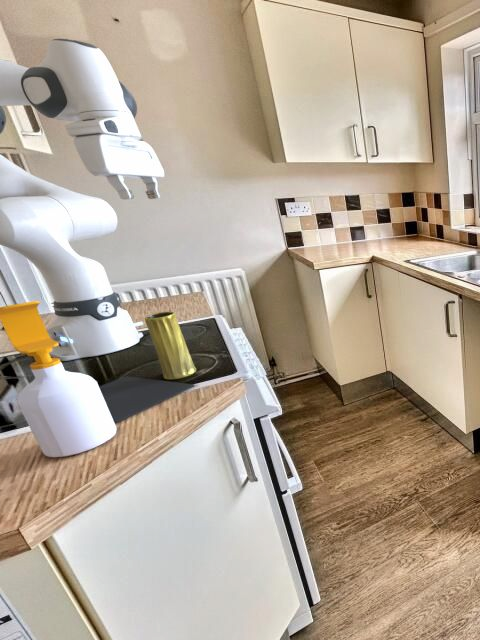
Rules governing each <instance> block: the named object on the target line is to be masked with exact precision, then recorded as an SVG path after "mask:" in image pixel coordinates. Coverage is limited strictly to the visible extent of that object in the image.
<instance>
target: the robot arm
mask: <svg viewBox="0 0 480 640" xmlns="http://www.w3.org/2000/svg"><path fill="white" fill-rule="evenodd" d="M3 106H4V107H11V106H12V107H13V106H15V107H17V106H18V107H19V106H32V107H33V108H34V109H35V111H37V112H39V113H40V114H42V116H44V117H46V118H49V119H53V120H57V121H63V122H64V121H65V122H70V123H67V124H64V128H65V130H66V133H67V135H68V136H69V137H71V138H73V145H74V148H75V149H76V151H77V154H78V155H79V158H80V160H81V161H82V164H83V166H84V167H85V169H86V170H87V171H88V172H89V173H90V174H91V175H92V176H94V177H106V179H107V182H108V183H109V184H110V185H111V187H112V188H113V189H114V190H115V191H117V193H118V196H119V198H120V199H121V200H133V199H134V198H135V195H134V193H133V191H132V189H129V187H127V185H126V184H125V183H124V181H125V179H141V180H142V182H143V184H145V187H146V191H145V194H146V196H147V198H148V199H149V200H157V199H160V198H161V196H160V193H159V192H158V181H157V180H158V179H162V178H164V177H165V170H164V168H163V166H162V163H161V161H160V160H159V157H158V156H157V154H156V152H155V149H153V147H152V146H151V145H150V144H149V143H147V141H145V140H144V139H143V138H142V134H141V132H140V129H139V127H138V125H137V122H136V120H135V118H136V116H137V113H138V105H137V101H136V100H135V97H134V95H133V94H132V93H131V92H130V90H129V89H128V88H127V86H125V84H123V83H122V82H121V81H120V80H119V79H118V76H117V75H116V73H115V71H114V69H113V67H112V65H111V63H110V61H109V60H108V58H107V56H106V55H105V53H104V52H103V51H102V50H101V49H100V48H98V47H97V46H95V45H94V44H91V43H87V42H84V41H81V40H75V39H68V38H54V39H51V40H49V41H48V43H47V54H46V56H45V57H44V58H43V60H42V61H40V63H38V64H37V65H36V66H32V67H27V66H24V65H21V64H17V63H14V62H12V61H9V60H6V59H3V58H0V135H1V134H2V133H3V132H4V129H5V127H6V124H7V116H6V112H5V110H4V108H3ZM118 223H119V222H118V215H117V213H116V211H115V209H114V208H113V207H112V206H111V204H109V203H108V202H107V201H106V200H104V199H103V198H100V197H96V196H92V195H87V194H83V193H81V192H80V193H79V192H76V191H73V190H70V189H68V188H65V187H62V186H59V185H57V184H55V183H52V182H49V181H48V180H45V179H43V178H40V177H38V176H35V175H33V174H32V173H30V172H28V171H27V170H25V169H24V168H22V167H20V166H18V165H17V164H16V163H14V162H13V161H12V160H9V159H8V158H7V157H5V156H4V155H2V154H1V153H0V246H3V247H6V248H7V249H11V250H12V251H15V252H16V253H18V254H20V255H21V256H23V257H24V258H25V259H27V260H28V261H29V262H30V263H32V264H33V266H35V267H36V269H37V270H38V271H39V272H40V274H41V275H42V278H43V279H44V281H45V283H46V285H47V287H48V289H49V291H50V294H51V295H52V297H53V300H54V301H53V302H51V303H50V304H51V305H52V306H51V307H52V308H53V310H54V315H56V316H55V318H53V320H52V322H51V323H50V324H49V326H48V327H47V328H46V330H47V332H48V334H49V336H50V338H51V339H52V340H54V341H56V342H58V344H59V345H58V346H56V347H52V350H53V351H51V352H49V355H50V357H51V358H59V359H60V361H61V362H67V361H72V360H78V359H83V358H89V357H90V358H91V357H96V356H102V355H106V354H111V353H114V352H119V351H122V350H125V349H127V348H130V347H133V346H135V345H136V344H138V343H140V340H141V339H142V338H143V337H144V334H143V332H141V331H138V330H137V328H136V327H138V326H142V325H143V324H144V323H143V321H139V322H135V323H134V322H133V320H132V317H131V316H130V314H129V312H128V311H127V310H126V309H123V308H122V307H120V306H121V302H120V298H119V297H118V295H117V293H116V292H114V291H113V288H112V285H111V282H110V280H109V278H108V275H107V272H106V268H105V267H104V265H102V264H101V263H100V262H99V261H97V260H95V259H93V258H89V257H88V256H87V257H86V256H82V255H79V254H78V253H77V252H76V251H75V250H74V249H73V248H72V246H71V244H70V243H72V242H79V241H89V240H96V239H98V238H99V239H100V238H102V237H105V236H108V235H111V234H112V233H114V232H115V231H116V230H117V228H118ZM1 330H3V331H4V330H5V329H4V327H3V326H2V327H1Z"/></svg>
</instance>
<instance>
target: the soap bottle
mask: <svg viewBox="0 0 480 640" xmlns="http://www.w3.org/2000/svg"><path fill="white" fill-rule="evenodd" d="M40 304H41V303H40V301H39V300H32V301H27V302H22V303H21V302H20V303H15V304H9V305H4V306H0V323H1V325H2V328H3V327H4V329H3V330H4V331H5V333H6V335H7V337H8V340H9V341H10V343H11V345H12V347H13V348H14V349H15V351H17V352H19V353H20V354H22V355H25V354H26V355H27V357H33V359H34V362H31V364H29V367H30V370H31V372H32V374H33V377H34V379H33V380H32V381H31V382H29V383H28V384H27V385H25V386H24V387H23V389H22V390H20V392H18V394H17V397H16V404H17V406H18V407H19V410H20V411H21V414H22V415H23V417H24V419H25V421H26V423H27V425H28V427H29V429H30V431H31V433H32V434H33V437H34V438H35V441H36V443H37V445H38V446H39V448H40V450H41V452H42V454H44V456H46V457H49V458H62V457H63V458H64V457H70V456H73V455H78V454H81V453H85V452H87V451H90V450H93V449H95V448H97V447H99V446H101V445H103V444H104V443H106V442H108V441H109V440H111V439H112V438H113V437H114V436H115V435H116V434H117V425H116V423H115V422H114V421H113V419H112V416H111V414H110V412H109V409H108V407H107V405H106V402H105V400H104V398H103V395H102V393H101V391H100V388H99V384H98V381H97V380H95V379H94V378H93V377H92V376H90V375H88V374H85V373H81V372H74V371H68V370H65V368H64V364H63V363H62V360H60V359H59V358H53V357H50V355H49V352H51V351H53V350H52V347H56V346H58V345H59V344H58V342H56V341H54V340H52V339H51V338H50V336H49V334H48V332H47V328H46V325H45V324H44V322H43V319H42V317H41V315H40V313H39V310H38V306H39V305H40Z"/></svg>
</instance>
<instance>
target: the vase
mask: <svg viewBox="0 0 480 640" xmlns="http://www.w3.org/2000/svg"><path fill="white" fill-rule="evenodd" d="M144 321H145V324H146V327H147V331H148V332H149V335H150V339H151V341H152V343H153V346H154V349H155V352H156V354H157V358H158V361H159V365H160V368H161V372H162V376H163V377H162V378H163V379H164V380H166V381H174V380H180V379H185V378H188V377H190V376H192V375H194V374H195V373H197V368H196V366H195V363H194V361H193V359H192V356H191V354H190V351H189V348H188V346H187V343H186V340H185V337H184V335H183V333H182V329H181V327H180V323H179V321H178V318H177V315H176V312H175V311H160V312H154V313H152V314H151V313H150V314H148V315H146V316H145V317H144Z"/></svg>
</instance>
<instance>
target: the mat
mask: <svg viewBox="0 0 480 640" xmlns="http://www.w3.org/2000/svg"><path fill="white" fill-rule="evenodd" d="M98 386H99V385H98ZM193 387H195V385H194V384H193V383H185V382H178V381H177V382H176V381H170V380H161V379H153V378H144V377H137V376H129V375H125V376H122V377H119V378H117V379H115V380H113V381H110V382H107V383H104V384H102V385H100V386H99V388H100V391H101V393H102V395H103V398H104V400H105V402H106V405H107V407H108V409H109V412H110V414H111V416H112V419H113V421H114V423H115V424H118V423H120V422H123V421H125V420H127V419H128V418H130V417H133V416H134V415H138V414H139V413H141V412H143V411H145V410H148V409H149V408H152V407H153V406H156V405H158V404H161V403H162V402H164V401H166V400H168V399H170V398H173V397H174V396H177V395H179V394H180V393H183V392H185V391H188V390H189V389H192V388H193Z"/></svg>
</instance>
